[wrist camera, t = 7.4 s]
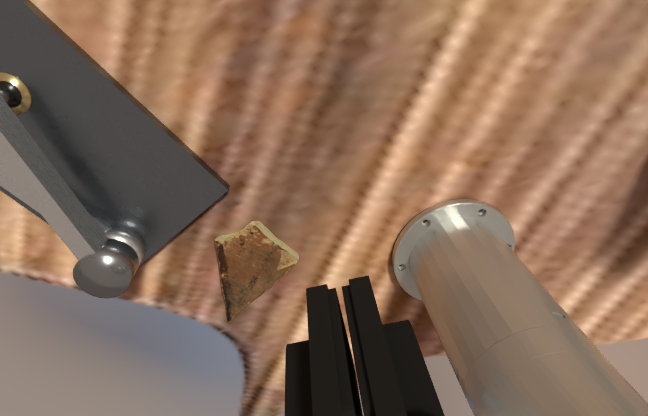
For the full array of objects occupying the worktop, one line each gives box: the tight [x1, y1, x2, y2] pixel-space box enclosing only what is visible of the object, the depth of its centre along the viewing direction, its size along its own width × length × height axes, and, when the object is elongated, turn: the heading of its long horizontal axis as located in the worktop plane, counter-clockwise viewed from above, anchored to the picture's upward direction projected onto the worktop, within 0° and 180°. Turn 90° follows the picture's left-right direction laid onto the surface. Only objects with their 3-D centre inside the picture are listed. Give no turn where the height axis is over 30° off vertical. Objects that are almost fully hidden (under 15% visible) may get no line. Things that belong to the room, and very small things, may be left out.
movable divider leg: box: [0, 87, 139, 298], centre depth 33 cm, size 18×4×4 cm, turn 19°
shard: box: [215, 221, 299, 321], centre depth 41 cm, size 11×8×2 cm
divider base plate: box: [0, 0, 230, 267], centre depth 33 cm, size 21×14×3 cm, turn 40°
